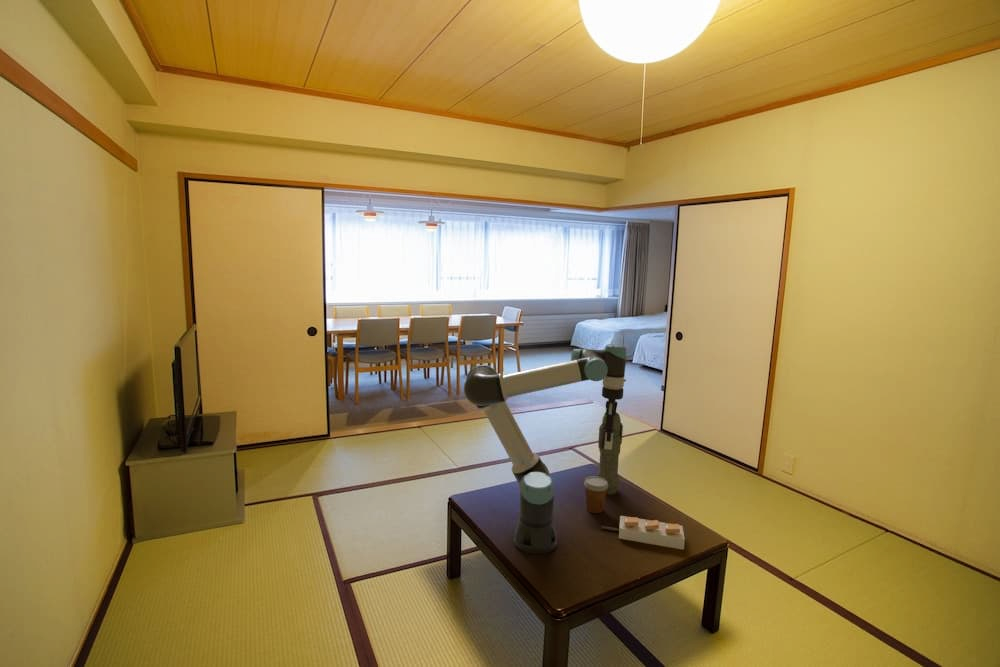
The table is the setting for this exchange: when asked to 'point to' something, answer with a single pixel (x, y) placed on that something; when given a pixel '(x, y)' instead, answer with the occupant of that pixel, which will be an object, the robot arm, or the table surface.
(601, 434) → the stone tower
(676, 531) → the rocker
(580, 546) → the table surface
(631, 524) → the orange block
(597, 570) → the table surface
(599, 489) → the disposable coffee cup
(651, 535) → the power strip
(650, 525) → the orange block
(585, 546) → the table surface
